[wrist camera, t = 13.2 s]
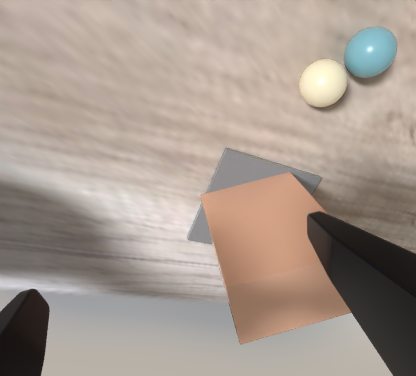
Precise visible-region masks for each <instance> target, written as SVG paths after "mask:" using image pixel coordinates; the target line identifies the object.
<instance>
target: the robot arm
mask: <svg viewBox="0 0 416 376" xmlns="http://www.w3.org/2000/svg"><path fill="white" fill-rule="evenodd" d="M307 235H308V238H309V240H310V242H311V244H312V246H313V248H314V250H315V252H316V254H317V256H318V258H319V260H320V262H321V264H322V266H323V268H324V270H325V272H326V273H327V275H328V277H329V279H330V281H331V282H332V284H333V285H334V287H335V288H336V290H337V291H338V293H339V294H340V296H341V297H342V299H343V300H344V302H345V303H346V305H347V306H348V308H349V309H350V311H351V313H352V314H353V316H354V317H355V319H356V320H357V321H358V323H359V325H360V326H361V328H362V329H363V331H364V332H365V333H366V335H367V336H368V338H369V340H370V341H371V343H372V344H373V346H374V347H375V349H376V350H377V352H378V353H379V355H380V356H381V358H382V359H383V361H384V362H385V363H386V365H387V367H388V368H389V370H390V371H391V373H392V374H393V376H416V254H415V253H413V252H411V251H408V250H406V249H404V248H402V247H400V246H397V245H395V244H393V243H391V242H388V241H386V240H384V239H382V238H380V237H377V236H375V235H373V234H371V233H368V232H366V231H364V230H362V229H360V228H357V227H355V226H353V225H351V224H348V223H346V222H344V221H342V220H339V219H337V218H335V217H333V216H331V215H328V214H326V213H324V212H322V211H316V212H312V213H309V214H308V215H307ZM48 320H49V306H48V303H47V302H46V301H45V299H44V298H43V297H42V296H41V294H40V293H39V292H38V291H37V290H36V289H29V290H26V291H22V292H20V293H19V294H18V295H17V296H16V297H15V298H14V299H13V300H12V301H11V302H10V303H9V304H8V305H7V306H6V307H5V308H4V309H3V310H2V311H1V312H0V376H41V371H42V367H43V362H44V355H45V348H46V339H47V330H48Z"/></svg>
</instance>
